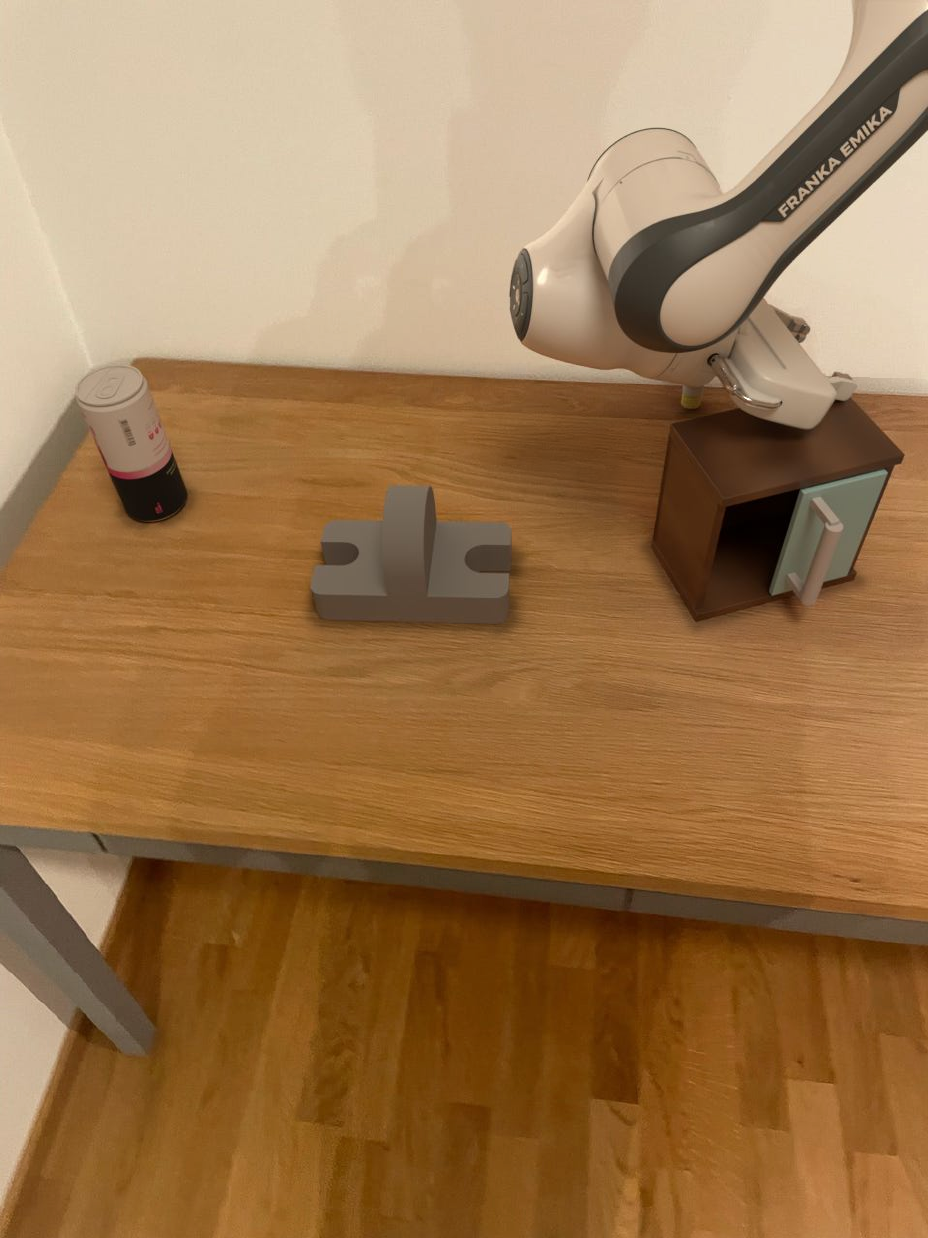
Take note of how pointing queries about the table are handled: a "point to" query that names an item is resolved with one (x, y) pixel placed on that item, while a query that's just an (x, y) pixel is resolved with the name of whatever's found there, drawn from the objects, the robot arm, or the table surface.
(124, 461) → the beverage can
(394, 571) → the bracket
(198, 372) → the table surface
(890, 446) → the cabinet
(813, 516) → the door
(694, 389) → the light bulb
